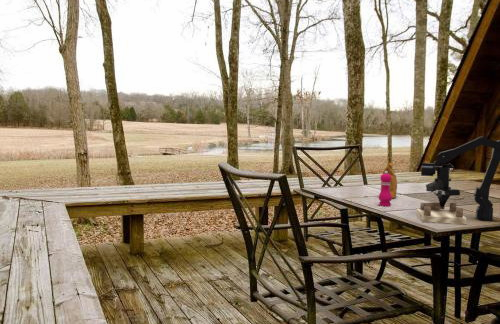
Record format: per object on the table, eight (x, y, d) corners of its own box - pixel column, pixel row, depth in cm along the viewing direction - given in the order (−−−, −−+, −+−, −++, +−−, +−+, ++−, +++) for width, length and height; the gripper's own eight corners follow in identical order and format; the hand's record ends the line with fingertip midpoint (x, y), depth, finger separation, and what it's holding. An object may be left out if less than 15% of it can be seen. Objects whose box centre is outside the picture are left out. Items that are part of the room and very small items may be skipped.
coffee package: (398, 196, 270) (400, 162, 268) (394, 199, 259) (395, 164, 257) (383, 195, 275) (384, 162, 273) (378, 198, 264) (379, 163, 262)
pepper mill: (388, 204, 244) (390, 170, 242) (393, 206, 237) (394, 171, 235) (376, 204, 244) (377, 170, 242) (380, 206, 236) (382, 171, 235)
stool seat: (456, 216, 212) (457, 202, 211) (466, 224, 194) (466, 209, 193) (416, 214, 217) (417, 200, 216) (422, 222, 198) (422, 207, 198)
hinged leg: (422, 209, 212) (422, 203, 211) (419, 208, 215) (419, 202, 214) (444, 209, 214) (444, 203, 213) (440, 208, 216) (441, 202, 216)
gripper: (417, 175, 219) (416, 204, 219) (441, 178, 200) (440, 211, 201) (436, 174, 221) (435, 204, 222) (461, 178, 203) (460, 210, 204)
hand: (442, 207), depth 212 cm, fingers closed
